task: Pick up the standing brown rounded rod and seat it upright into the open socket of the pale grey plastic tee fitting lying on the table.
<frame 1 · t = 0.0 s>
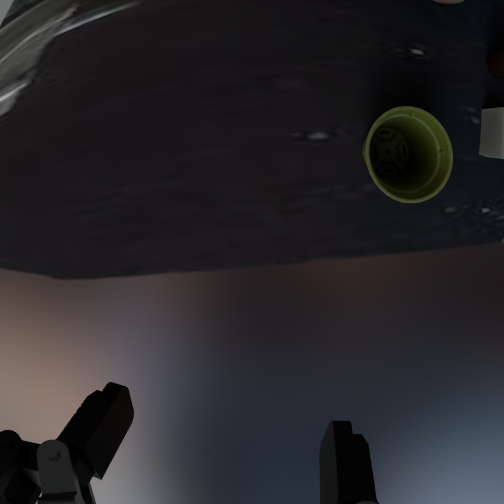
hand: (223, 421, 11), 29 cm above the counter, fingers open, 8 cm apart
plant pot: (385, 152, 33), on the counter
brown rounded rod: (496, 66, 26), on the counter
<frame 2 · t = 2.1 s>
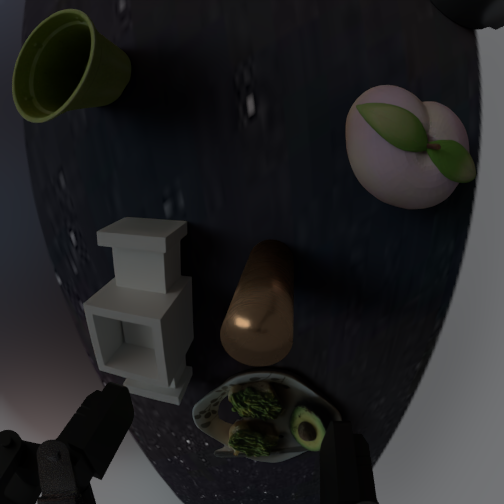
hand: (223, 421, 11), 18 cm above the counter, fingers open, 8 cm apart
plant pot: (106, 77, 24), on the counter
tee fitting: (159, 304, 31), on the counter
salad plate: (272, 415, 35), on the counter
brown rounded rod: (271, 261, 28), on the counter
decorative fruit: (386, 148, 23), on the counter
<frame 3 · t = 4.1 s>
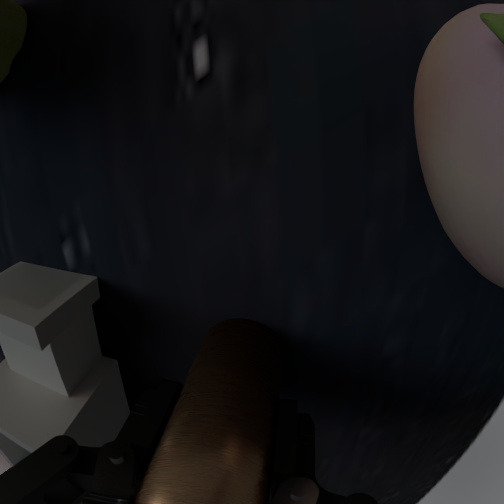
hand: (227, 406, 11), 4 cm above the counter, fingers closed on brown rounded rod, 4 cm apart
plant pot: (1, 49, 11), on the counter
tee fitting: (83, 385, 18), on the counter
brown rounded rod: (242, 352, 15), on the counter, touching gripper
decorative fruit: (464, 151, 11), on the counter
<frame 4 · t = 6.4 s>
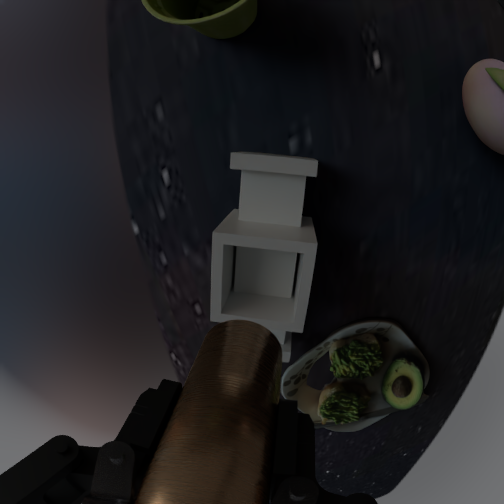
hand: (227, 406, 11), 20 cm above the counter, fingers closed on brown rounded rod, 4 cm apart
plant pot: (225, 14, 23), on the counter
tee fitting: (269, 249, 30), on the counter
salad plate: (361, 375, 34), on the counter
brown rounded rod: (242, 353, 15), point 16 cm above the counter, touching gripper
decorative fruit: (477, 113, 22), on the counter
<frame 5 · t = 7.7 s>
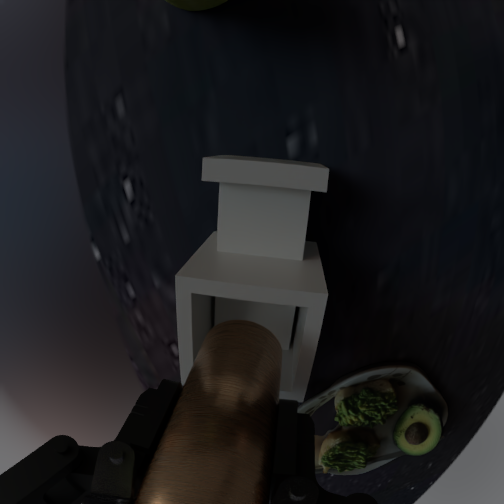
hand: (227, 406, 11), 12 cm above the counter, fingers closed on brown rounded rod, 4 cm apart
tee fitting: (260, 283, 23), on the counter
salad plate: (370, 419, 27), on the counter
brown rounded rod: (242, 353, 15), point 9 cm above the counter, touching gripper
when the fingers open (9 cm above the counter, at t = 8.6 s): brown rounded rod drops 2 cm, resting on tee fitting.
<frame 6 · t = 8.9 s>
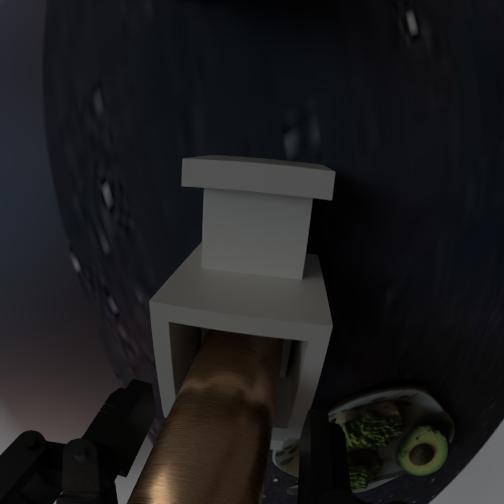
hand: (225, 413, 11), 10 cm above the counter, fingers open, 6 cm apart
tee fitting: (254, 300, 20), on the counter
salad plate: (373, 439, 25), on the counter
brown rounded rod: (246, 335, 16), point 4 cm above the counter, touching tee fitting
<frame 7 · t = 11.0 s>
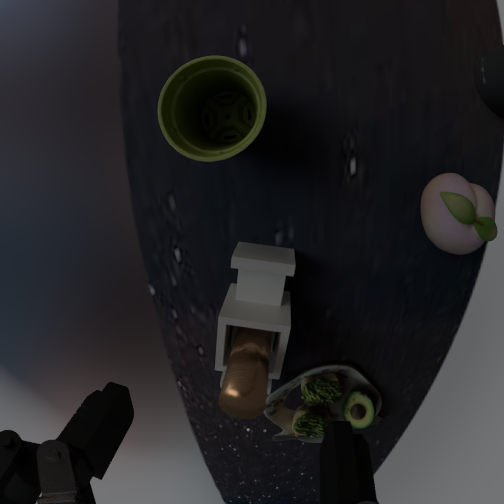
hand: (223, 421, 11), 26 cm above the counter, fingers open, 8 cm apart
plant pot: (227, 117, 32), on the counter
tee fitting: (256, 312, 39), on the counter
salad plate: (327, 401, 44), on the counter
brown rounded rod: (254, 330, 35), point 4 cm above the counter, touching tee fitting
decorative fruit: (436, 206, 32), on the counter
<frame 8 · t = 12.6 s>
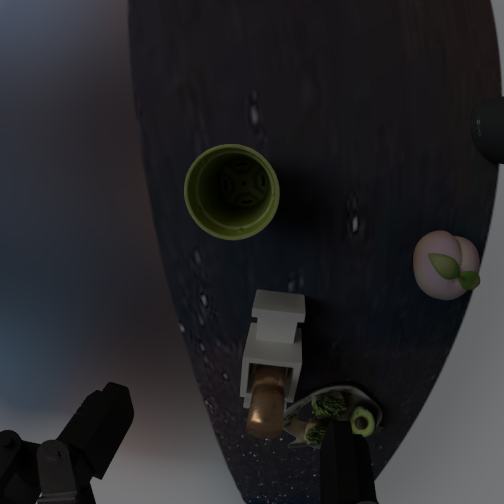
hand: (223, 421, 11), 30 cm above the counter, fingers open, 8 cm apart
plant pot: (243, 182, 38), on the counter
tee fitting: (273, 345, 45), on the counter
salad plate: (334, 413, 49), on the counter
brown rounded rod: (271, 362, 41), point 4 cm above the counter, touching tee fitting
decorative fruit: (429, 252, 37), on the counter
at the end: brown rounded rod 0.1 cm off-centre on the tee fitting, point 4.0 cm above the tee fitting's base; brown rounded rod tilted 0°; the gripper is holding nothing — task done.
